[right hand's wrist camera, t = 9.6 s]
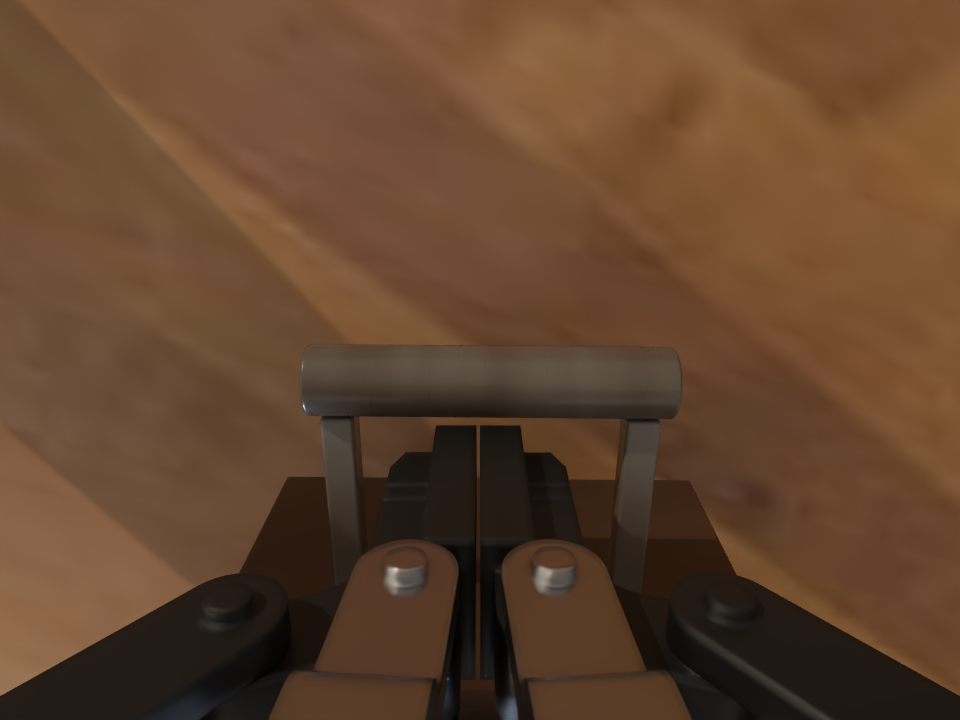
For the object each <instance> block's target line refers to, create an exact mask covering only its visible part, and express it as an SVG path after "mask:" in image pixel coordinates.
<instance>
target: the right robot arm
mask: <svg viewBox="0 0 960 720" xmlns="http://www.w3.org/2000/svg"><path fill="white" fill-rule="evenodd" d="M476 542H477V447H476V425H436V430H435V437H434V444H433V451H432V452H406V453H405V454H404V455H403V456H402V457H401V458H400V459H399V460H398V461H396V462H395V463H394V464H393V465H392V466H391V467H390V471H389V475H388V479H387V483H386V487H385V491H384V495H383V502H382V503H381V507H380V511H379V515H378V519H377V523H376V527H375V531H374V535H373V539H372V543H371V547H370V550H369V551H368V552H366V553H365V554H364V555H363V556H362V557H361V558H360V559H359V560H358V561H357V563H356V565H355V566H354V569H353V571H352V574H351V576H350V578H349V579H348V580H346V581H345V582H343V583H341V584H339V585H337V586H335V587H333V588H330V589H327V590H324V591H321V592H317V593H313V594H309V595H304V596H300V597H295V598H291V599H288V597H287V593H286V591H285V589H284V587H283V586H282V585H281V584H280V583H279V582H278V581H276V580H275V579H273V578H271V577H268V576H265V575H261V574H254V573H240V574H232V575H226V576H222V577H219V578H215V579H212V580H210V581H207V582H205V583H203V584H201V585H199V586H197V587H195V588H193V589H191V590H190V591H188V592H186V593H184V594H183V595H181V596H179V597H177V598H175V599H174V600H172V601H170V602H168V603H166V604H165V605H163V606H161V607H159V608H157V609H156V610H154V611H152V612H150V613H148V614H147V615H145V616H143V617H141V618H140V619H138V620H136V621H134V622H132V623H131V624H129V625H127V626H125V627H123V628H122V629H120V630H118V631H116V632H114V633H113V634H111V635H109V636H107V637H105V638H104V639H102V640H100V641H98V642H97V643H95V644H93V645H91V646H89V647H88V648H86V649H84V650H82V651H80V652H79V653H77V654H75V655H73V656H71V657H70V658H68V659H66V660H64V661H62V662H61V663H59V664H57V665H55V666H54V667H52V668H50V669H48V670H46V671H45V672H43V673H41V674H39V675H37V676H36V677H34V678H32V679H30V680H28V681H27V682H25V683H23V684H21V685H19V686H18V687H16V688H14V689H12V690H11V691H9V692H7V693H5V694H3V695H2V696H0V720H461V718H460V693H461V680H475V665H476ZM480 680H494V686H495V704H496V708H497V711H498V714H499V715H500V718H499V720H960V696H958V695H957V694H955V693H953V692H951V691H949V690H948V689H946V688H944V687H942V686H941V685H939V684H937V683H935V682H933V681H932V680H930V679H928V678H926V677H924V676H923V675H921V674H919V673H917V672H915V671H914V670H912V669H910V668H908V667H906V666H905V665H903V664H901V663H899V662H898V661H896V660H894V659H892V658H890V657H889V656H887V655H885V654H883V653H881V652H880V651H878V650H876V649H874V648H872V647H871V646H869V645H867V644H865V643H863V642H862V641H860V640H858V639H856V638H855V637H853V636H851V635H849V634H847V633H846V632H844V631H842V630H840V629H838V628H837V627H835V626H833V625H831V624H829V623H828V622H826V621H824V620H822V619H820V618H819V617H817V616H815V615H813V614H812V613H810V612H808V611H806V610H804V609H803V608H801V607H799V606H797V605H795V604H794V603H792V602H790V601H788V600H786V599H785V598H783V597H781V596H779V595H777V594H776V593H774V592H772V591H770V590H769V589H767V588H765V587H763V586H761V585H759V584H757V583H755V582H753V581H751V580H749V579H746V578H744V577H741V576H737V575H733V574H728V573H723V572H700V573H694V574H691V575H688V576H686V577H684V578H682V579H680V580H679V581H678V582H677V583H676V584H675V585H674V586H673V588H672V590H671V593H670V600H668V599H663V598H659V597H654V596H650V595H645V594H641V593H637V592H633V591H630V590H627V589H624V588H622V587H620V586H618V585H616V584H614V583H612V581H611V579H610V576H609V574H608V571H607V569H606V566H605V565H604V563H603V561H602V560H601V559H600V558H599V557H598V556H597V555H596V554H595V553H594V552H592V551H591V550H589V549H587V548H585V545H584V541H583V537H582V533H581V529H580V524H579V520H578V516H577V512H576V508H575V504H574V502H573V495H572V491H571V487H570V483H569V479H568V474H567V470H566V467H565V466H564V465H563V464H562V463H561V462H560V461H559V460H558V459H557V458H556V457H555V456H553V455H552V454H551V453H524V450H523V442H522V434H521V427H520V426H480Z"/></svg>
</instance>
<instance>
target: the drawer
mask: <svg viewBox="0 0 960 720" xmlns="http://www.w3.org/2000/svg"><path fill="white" fill-rule="evenodd" d="M299 387H300V398H301V403H302V406H303V409H304V412H305V413H306V414H307V415H309V416H322V418H321V420H320V427H321V437H322V448H323V459H324V469H325V477H288V478H287V480H286V482H285V484H284V486H283V488H282V490H281V492H280V494H279V496H278V498H277V500H276V502H275V504H274V506H273V508H272V510H271V511H270V513H269V515H268V517H267V519H266V521H265V523H264V525H263V527H262V529H261V531H260V533H259V535H258V537H257V539H256V541H255V543H254V545H253V547H252V549H251V551H250V553H249V555H248V557H247V559H246V561H245V563H244V565H243V567H242V569H241V571H240V573H254V574H261V575H265V576H268V577H271V578H273V579H275V580H276V581H278V582H279V583H280V584H281V585H282V586H283V587H284V589H285V591H286V593H287V597H288V599H291V598H295V597H300V596H304V595H309V594H313V593H317V592H321V591H324V590H327V589H330V588H333V587H335V586H337V585H339V584H341V583H343V582H345V581H346V580H348V579H349V578H350V576H351V574H352V571H353V569H354V566H355V565H356V563H357V561H358V560H359V559H360V558H361V557H362V556H363V555H364V554H365V553H366V552H368V551H369V550H370V547H371V543H372V539H373V535H374V531H375V527H376V523H377V519H378V515H379V511H380V507H381V503H382V502H383V495H384V491H385V487H386V483H387V479H388V478H363V469H362V455H361V441H360V426H359V416H377V417H489V418H602V419H621V423H620V434H619V445H618V456H617V467H616V478H615V480H569V483H570V487H571V491H572V495H573V502H574V504H575V508H576V512H577V516H578V520H579V524H580V529H581V533H582V537H583V541H584V545H585V548H587V549H589V550H591V551H592V552H594V553H595V554H596V555H597V556H598V557H599V558H600V559H601V560H602V561H603V563H604V565H605V566H606V569H607V571H608V574H609V576H610V579H611V581H612V583H614V584H616V585H618V586H620V587H622V588H624V589H627V590H630V591H633V592H637V593H641V594H645V595H650V596H654V597H659V598H663V599H668V600H670V593H671V590H672V588H673V586H674V585H675V584H676V583H677V582H678V581H679V580H680V579H682V578H684V577H686V576H688V575H691V574H694V573H700V572H723V573H728V574H733V575H736V573H735V571H734V569H733V567H732V565H731V563H730V561H729V559H728V557H727V555H726V553H725V551H724V549H723V547H722V545H721V543H720V541H719V539H718V537H717V535H716V533H715V531H714V529H713V527H712V525H711V523H710V521H709V519H708V517H707V515H706V513H705V511H704V509H703V507H702V505H701V503H700V501H699V499H698V497H697V495H696V493H695V491H694V489H693V487H692V485H691V483H690V481H668V480H654V477H655V468H656V460H657V451H658V442H659V434H660V425H661V424H660V422H659V420H658V419H672V418H674V417H675V416H676V415H677V413H678V410H679V407H680V403H681V396H682V370H681V364H680V360H679V356H678V354H677V352H676V350H675V349H674V348H672V347H602V346H475V345H348V344H311V345H308V346H307V347H306V349H305V351H304V353H303V356H302V360H301V366H300V377H299ZM240 573H239V574H240ZM460 718H461V720H499V718H500V715H499V714H498V711H497V708H496V704H495V686H494V680H480V479H477V542H476V665H475V680H461V693H460Z"/></svg>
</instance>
